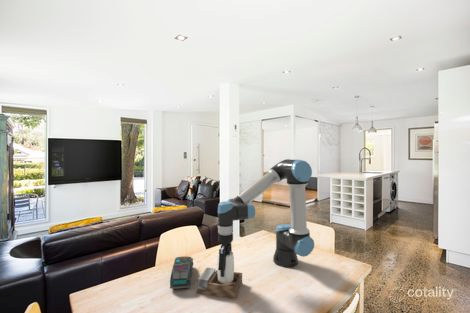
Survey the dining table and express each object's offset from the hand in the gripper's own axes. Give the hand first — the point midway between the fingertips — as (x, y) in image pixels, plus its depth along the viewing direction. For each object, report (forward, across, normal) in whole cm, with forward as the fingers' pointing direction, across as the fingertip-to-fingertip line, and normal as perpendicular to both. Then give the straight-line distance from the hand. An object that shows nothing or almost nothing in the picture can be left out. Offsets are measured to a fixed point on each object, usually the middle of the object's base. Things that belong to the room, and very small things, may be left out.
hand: (225, 277), depth 121 cm
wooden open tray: (+6, 0, -3) cm, 7 cm away
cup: (+2, 0, 0) cm, 2 cm away
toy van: (+6, -4, -26) cm, 27 cm away
